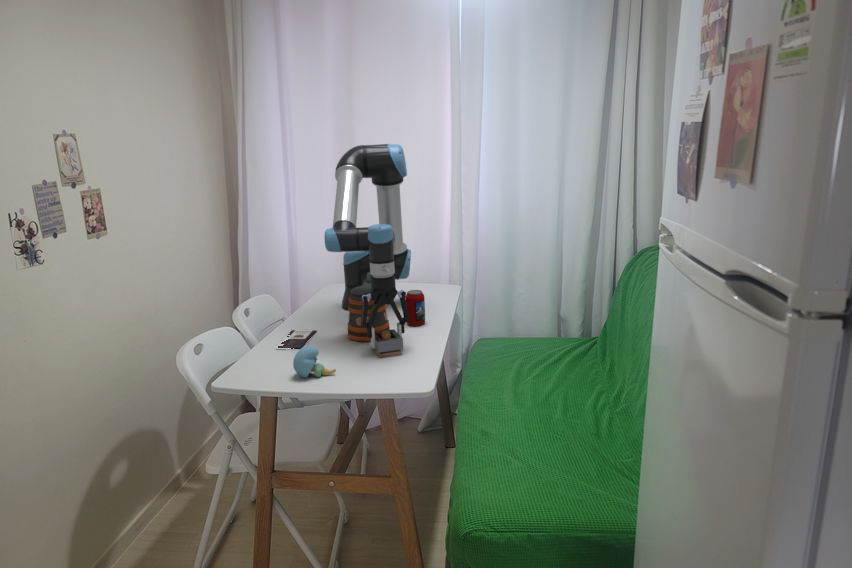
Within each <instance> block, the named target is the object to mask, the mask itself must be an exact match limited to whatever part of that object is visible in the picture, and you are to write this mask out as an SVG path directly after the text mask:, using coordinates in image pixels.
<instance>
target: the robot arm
mask: <svg viewBox="0 0 852 568" xmlns="http://www.w3.org/2000/svg"><path fill="white" fill-rule="evenodd" d="M407 175H408V170H407V162H406V157H405V153H404V149H403V147H402V146H401V145H400V144H398V143H397V144H395V143H394V144H393V143H392V144H391V143H383V144H366V145H364V144H360V145H355V146H354V147H351V148H350V149H349V150H347V151H346V152H345V153H344V154H343V155H342V156H341V158H340V159H339V161H338V162H337V164H336V167H335V173H334V178H335V180H336V181H337V182H336V193H335V199H334V201H335V202H334V209H333V210H334V211H333V222H332V227H330V228H326V229H325V231H324V246H325V250H326V251H327V252H329V253H331V252H332V253H343V263H342V265H343V273H344V287H345V289H344V293H343V297H342V301H341V306H342V308H343V309H344V310H345V311H346V310H347V311H349V310H348V305H349V296H350V291H351V290H352V289H353V288H355V287H358V286H362V284H363V283H364V280H365V279H367V273H368V272H370V274H371V292H370V294H368V295H362V301H363V305H362V315H361V325H362V327H366V328H367V336H368V338H371V342H370V347H371V348H372V349H373V350H374V348H375V332H374V328H373V326H372V325H373V322H374V320H375V317H376V314H377V311H378V309H379V307H380V306H381V305H385V304H386V306H387V305H390V307H391V308H392V311H393V312H394V315H395V316H396V318H397V320H398V321H397V322H396V332H397V333H398V334H399V335H400V336H401V337H402V338H403V335H402V334H405V324H406V323H407V321H410V318H409V313H408V309H407V304H406V294H407V292H406V291H405V290H404V289H401V290H398V289H397V287H396V286H397V285H396V280H397V281H398V280H405V279H408V278H409V276H410V270H411V259H412V250H411V249H409V248H408V245H407V244H406V243H405V242H404V240H403V223H402V205H401V202H402V201H401V186H400V185H401V184H402V183H403V182H404V178H405V177H407ZM363 179H371V184H373V185H374V186H375V187H376V198H377V199H376V200H377V211H378V223H377V224H372V225H369V226H366V227H357V221H358V220H357V219H358V204H359V189H360V183H361V182H362V180H363ZM371 297H372V299H373V300H374V303H373V307H372V310H371V313H370V316H369V318H368V321H367V313H368V302H369V301H370V298H371ZM396 297H398V299H399V302H400V305H401V306H400V307H401V311H402V315H403V316H402V315H401V313H400V311H399V308H398V306H397V304H396V302H395V301H394V300H395V298H396ZM366 321H367V323H366Z"/></svg>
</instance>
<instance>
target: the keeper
mask: <svg viewBox="0 0 852 568" xmlns="http://www.w3.org/2000/svg"><path fill="white" fill-rule="evenodd" d="M384 339H391V334H390V332H389V331H384V332H382V340H384ZM373 350H374V352H375V353H376V355H377V356H378V357H379V358H380V359H382V358H389V357H396V356H401V355H403V351H402V349H401V350H394V351H388V352H381V353H378V352H377V350H376V349H375V348H374V349H373Z"/></svg>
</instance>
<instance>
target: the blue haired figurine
mask: <svg viewBox="0 0 852 568" xmlns="http://www.w3.org/2000/svg"><path fill="white" fill-rule="evenodd" d="M318 355H319V349H318V348H317V347H315V346H312V345H309V346H308V345H307V346H306V345H305V346H303V347H302V348H301V349H300V350H297V352H296V353H295V355H294V358H293V362H292V365H293V367H292V368H293V370H294V371H295V373H296V374H297V375H298V376H300V377H302V378H304V379H306V378H308V377H309V375H310V373H314V376H315V377H316V378H320V377H322V375H331V374H335V373H336V372H337V369H336V368H333V369H328V368H326V367H325V366H324V364H322V363H320V362H317V361H318V358H317V357H318Z"/></svg>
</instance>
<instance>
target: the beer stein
mask: <svg viewBox="0 0 852 568" xmlns="http://www.w3.org/2000/svg"><path fill="white" fill-rule="evenodd" d="M370 292H371V274H370V272H368V273H367V279H365V280H364V283H363V284H362V286H358V287H355V288H353V289H352V290H351V291H350V296H349V305H348V310H347V311H348V322H347V338H349V340H352V341H354V342H358V343H359V342H360V343H371V340H370V338H368V336H367V328H366V327H362V325H361V315H362V305H363V301H362V295H368V294H370ZM373 303H374V300H373V299H372V297H371V298H370V301H369V302H368V313H367V321H368V318H369V316H370V313H371V310H372V307H373ZM367 321H366V323H367ZM372 326H373V328H374V332H377V331H385V330H391V329H390V321H389V319H388V314H387V305H386V304H385V305H381V306H380V307H379V309H378V311H377V314H376V317H375V320H374V322H373V325H372Z"/></svg>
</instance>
